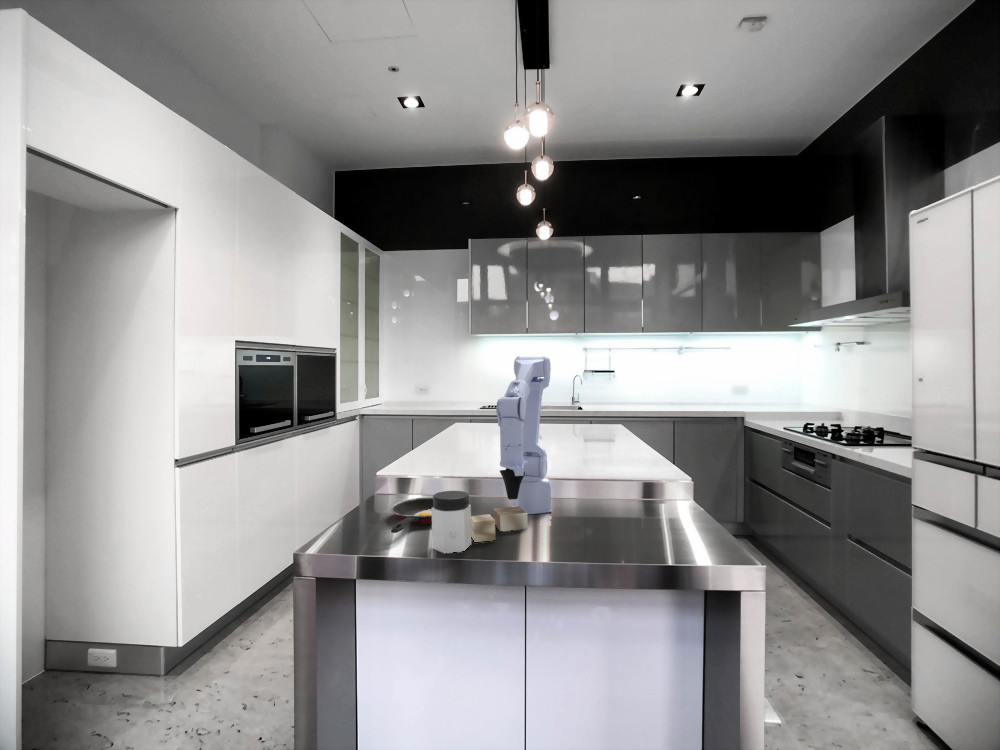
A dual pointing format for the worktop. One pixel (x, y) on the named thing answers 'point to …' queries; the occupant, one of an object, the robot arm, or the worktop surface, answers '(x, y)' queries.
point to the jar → (451, 521)
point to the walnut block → (510, 518)
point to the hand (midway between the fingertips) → (512, 498)
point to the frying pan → (412, 512)
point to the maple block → (482, 528)
